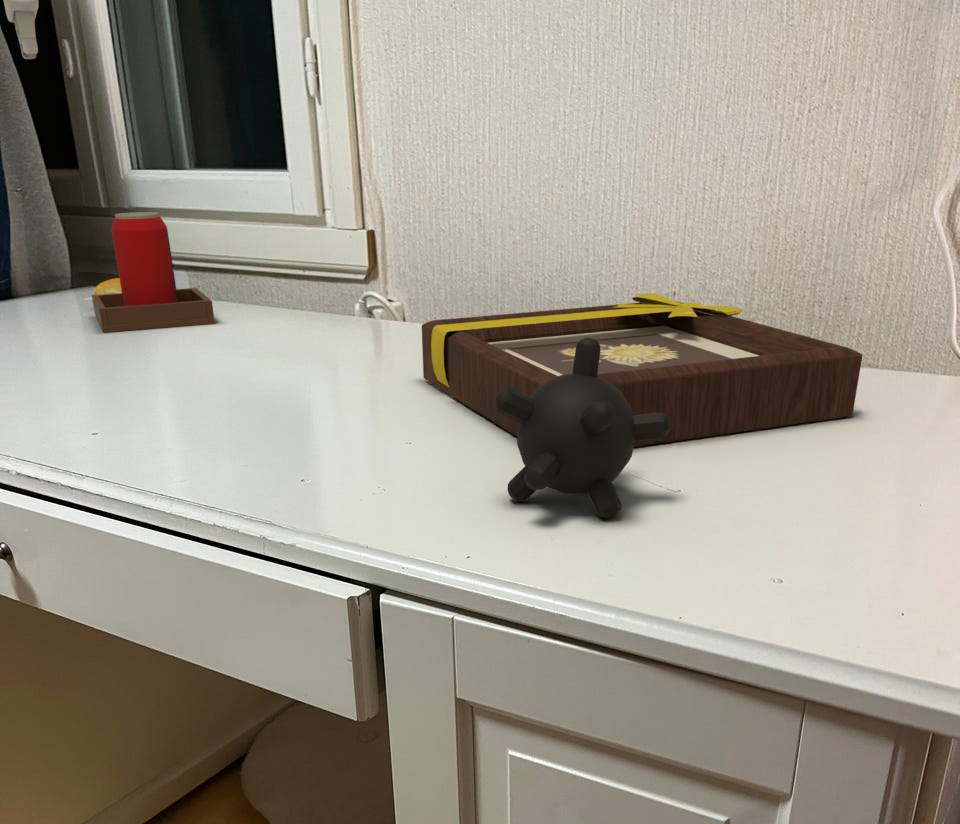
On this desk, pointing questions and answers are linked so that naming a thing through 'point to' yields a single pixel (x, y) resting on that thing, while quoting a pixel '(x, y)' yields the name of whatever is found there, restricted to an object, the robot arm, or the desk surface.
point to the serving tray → (153, 312)
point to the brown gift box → (650, 364)
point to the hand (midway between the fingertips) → (30, 56)
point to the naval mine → (576, 433)
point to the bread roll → (108, 287)
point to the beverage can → (143, 259)
